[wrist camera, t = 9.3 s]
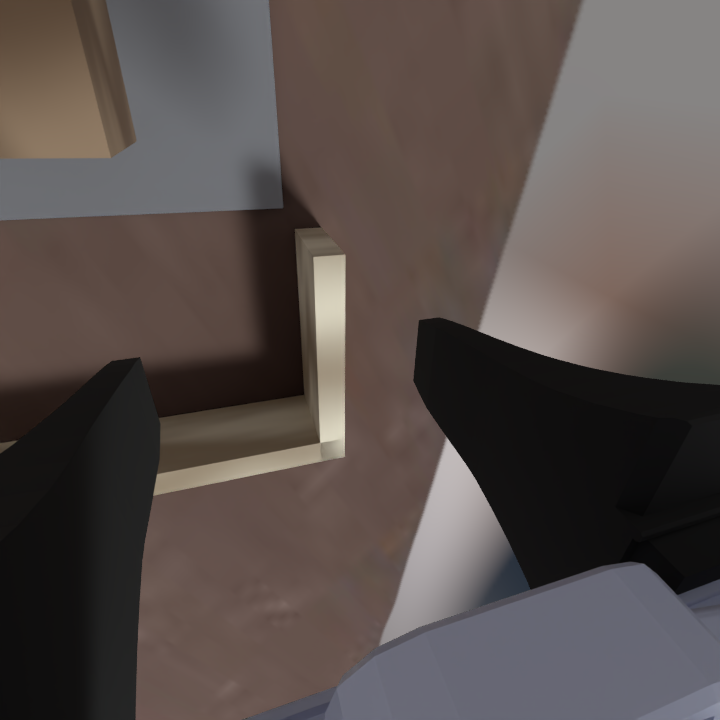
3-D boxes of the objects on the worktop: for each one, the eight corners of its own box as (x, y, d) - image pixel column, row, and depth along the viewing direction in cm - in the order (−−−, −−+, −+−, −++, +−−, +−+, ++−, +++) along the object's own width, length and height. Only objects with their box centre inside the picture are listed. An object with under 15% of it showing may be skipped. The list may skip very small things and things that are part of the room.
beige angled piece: (325, 408, 24) (344, 456, 21) (-66, 474, 19) (-120, 550, 16) (321, 227, 19) (345, 254, 16) (-220, 257, 14) (-347, 305, 11)
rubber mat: (281, 205, 18) (283, 208, 18) (-173, 224, 14) (-185, 228, 14) (256, -142, 13) (258, -150, 12) (-479, -267, 9) (-512, -284, 8)
